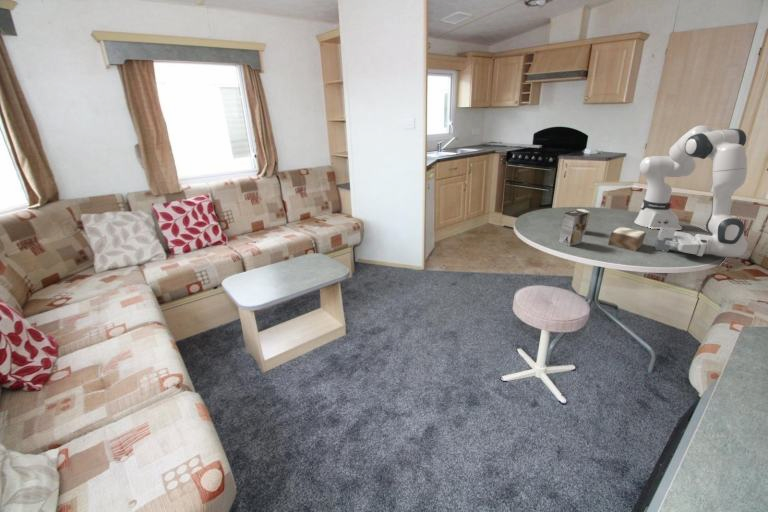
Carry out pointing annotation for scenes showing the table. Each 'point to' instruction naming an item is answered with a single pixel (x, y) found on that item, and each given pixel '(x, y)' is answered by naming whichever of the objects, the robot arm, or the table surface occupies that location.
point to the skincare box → (587, 217)
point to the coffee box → (573, 227)
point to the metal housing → (664, 238)
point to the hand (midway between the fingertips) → (663, 238)
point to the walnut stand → (627, 238)
